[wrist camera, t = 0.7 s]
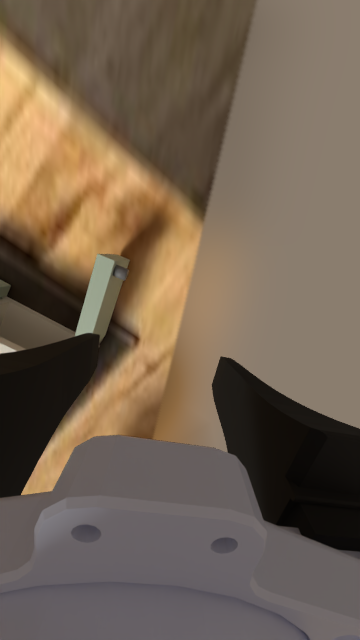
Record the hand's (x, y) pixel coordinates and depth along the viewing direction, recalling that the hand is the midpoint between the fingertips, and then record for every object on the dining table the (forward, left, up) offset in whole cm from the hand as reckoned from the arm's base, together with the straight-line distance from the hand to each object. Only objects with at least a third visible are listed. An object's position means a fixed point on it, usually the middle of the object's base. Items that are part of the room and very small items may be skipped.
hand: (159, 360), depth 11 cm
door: (-2, +5, -9) cm, 10 cm away
